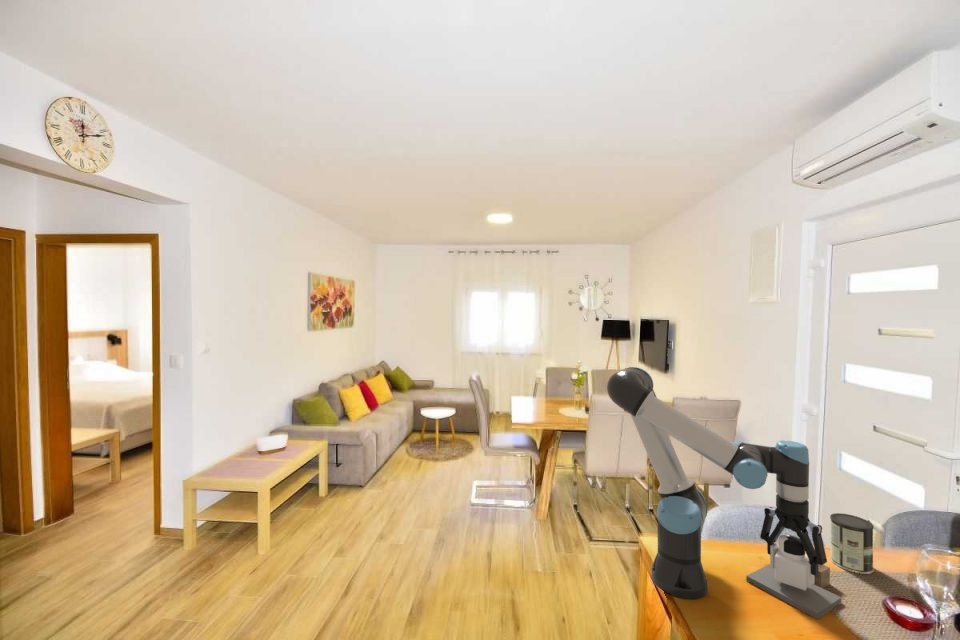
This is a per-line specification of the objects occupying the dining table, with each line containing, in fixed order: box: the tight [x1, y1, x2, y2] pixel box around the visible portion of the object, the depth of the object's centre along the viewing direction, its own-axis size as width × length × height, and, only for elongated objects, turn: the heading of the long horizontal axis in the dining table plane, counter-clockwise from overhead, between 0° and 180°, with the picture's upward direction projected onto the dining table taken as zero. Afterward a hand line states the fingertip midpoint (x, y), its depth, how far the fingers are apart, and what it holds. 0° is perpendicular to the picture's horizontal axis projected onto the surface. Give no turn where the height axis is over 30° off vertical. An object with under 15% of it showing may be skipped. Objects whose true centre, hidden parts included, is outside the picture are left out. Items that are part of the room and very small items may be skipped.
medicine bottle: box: [775, 534, 809, 590], centre depth 120 cm, size 7×7×12 cm
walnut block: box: [814, 564, 831, 589], centre depth 124 cm, size 5×5×5 cm
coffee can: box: [829, 512, 875, 575], centre depth 133 cm, size 10×10×14 cm
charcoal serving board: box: [745, 563, 842, 620], centre depth 120 cm, size 18×13×2 cm
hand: (791, 575), depth 120 cm, fingers closed on medicine bottle, 8 cm apart
